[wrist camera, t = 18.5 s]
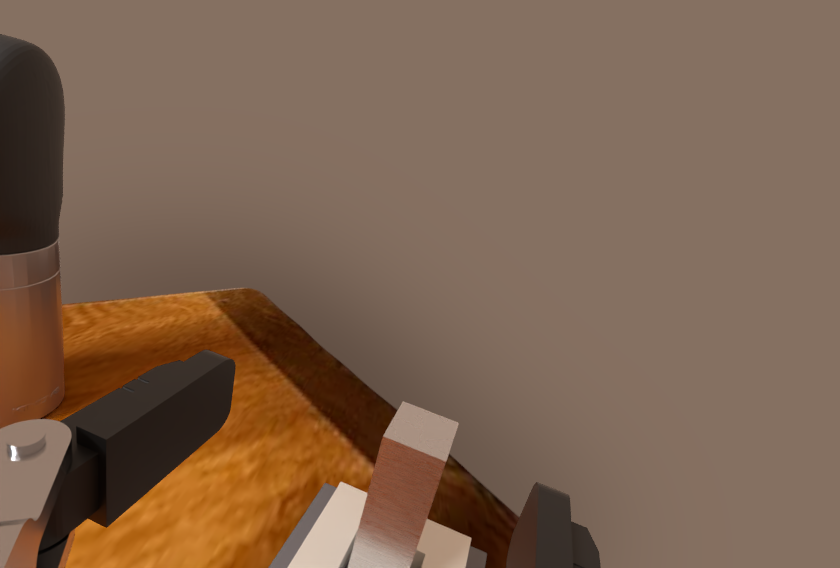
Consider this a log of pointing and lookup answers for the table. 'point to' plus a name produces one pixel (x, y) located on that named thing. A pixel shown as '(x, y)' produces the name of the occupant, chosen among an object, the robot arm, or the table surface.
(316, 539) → the socket block
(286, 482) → the table surface
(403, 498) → the steel peg
